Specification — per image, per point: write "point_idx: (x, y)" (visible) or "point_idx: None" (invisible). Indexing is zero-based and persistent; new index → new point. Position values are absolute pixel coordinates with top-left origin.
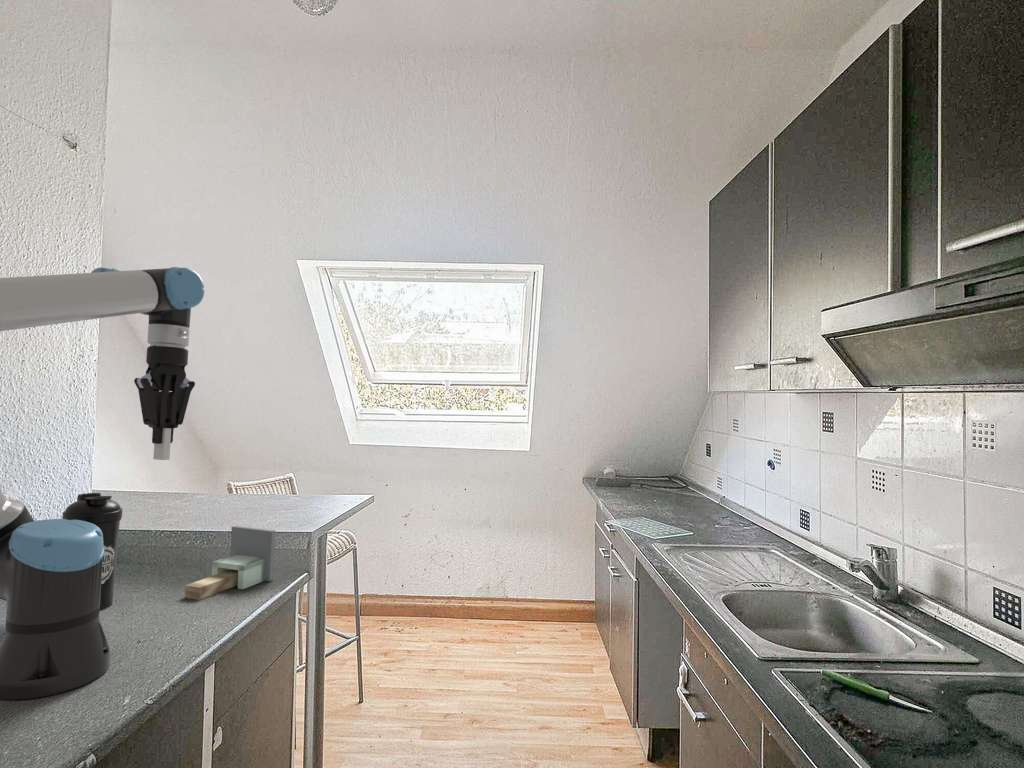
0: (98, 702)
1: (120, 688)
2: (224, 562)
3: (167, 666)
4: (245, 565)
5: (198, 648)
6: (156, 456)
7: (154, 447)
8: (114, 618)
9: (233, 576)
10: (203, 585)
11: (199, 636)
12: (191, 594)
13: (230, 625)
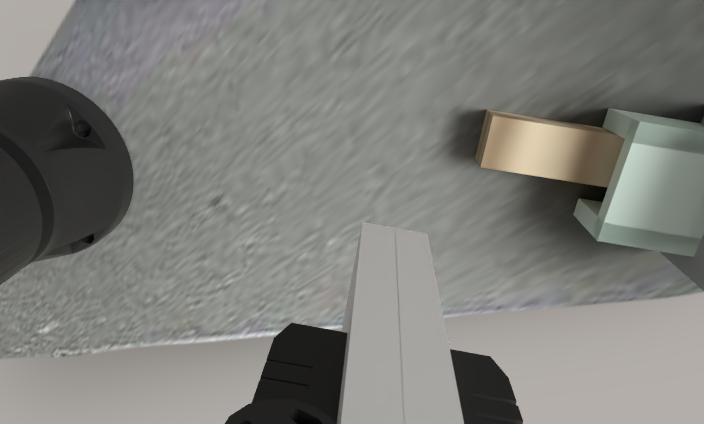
0: (25, 298)
1: (67, 297)
2: (629, 166)
3: (149, 314)
4: (603, 241)
5: (224, 318)
6: (354, 266)
7: (355, 278)
8: (308, 47)
9: (605, 186)
10: (499, 164)
11: (271, 290)
12: (483, 133)
13: (336, 313)
